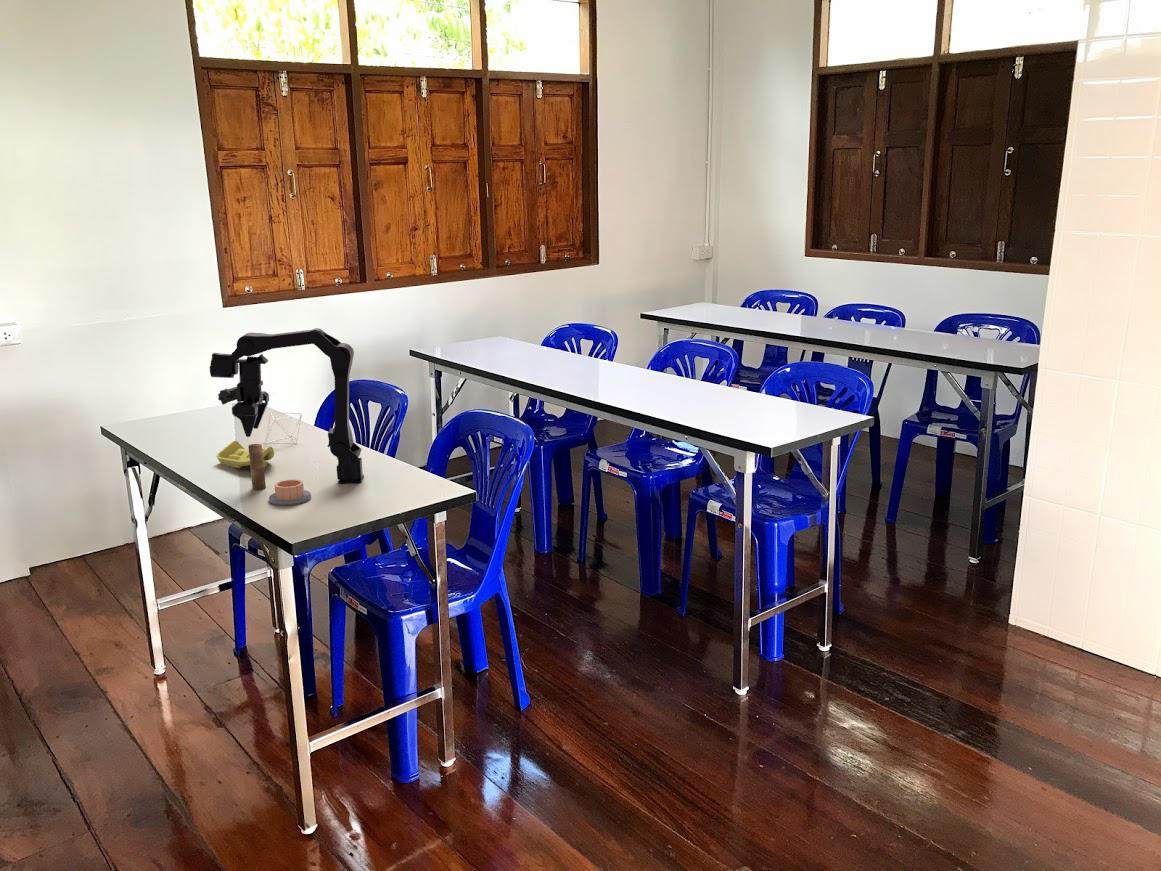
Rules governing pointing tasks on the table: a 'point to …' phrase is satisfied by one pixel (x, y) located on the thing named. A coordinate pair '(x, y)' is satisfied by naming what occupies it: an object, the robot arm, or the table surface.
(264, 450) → the plastic component
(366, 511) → the table surface
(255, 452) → the walnut rail post
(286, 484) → the ring
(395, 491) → the table surface
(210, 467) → the table surface
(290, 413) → the geometric polyhedron
